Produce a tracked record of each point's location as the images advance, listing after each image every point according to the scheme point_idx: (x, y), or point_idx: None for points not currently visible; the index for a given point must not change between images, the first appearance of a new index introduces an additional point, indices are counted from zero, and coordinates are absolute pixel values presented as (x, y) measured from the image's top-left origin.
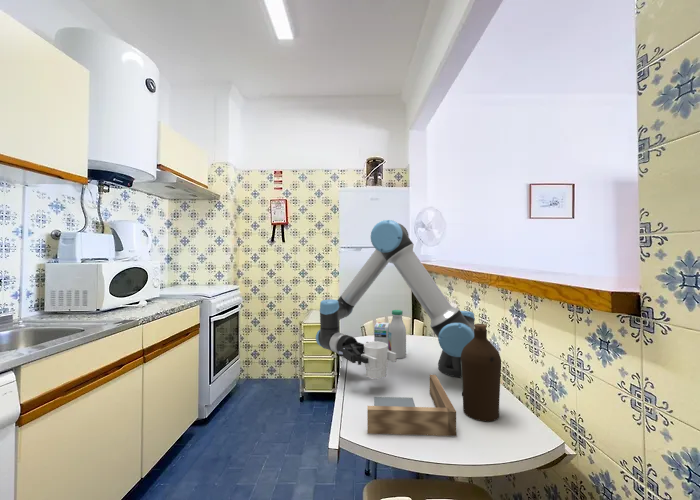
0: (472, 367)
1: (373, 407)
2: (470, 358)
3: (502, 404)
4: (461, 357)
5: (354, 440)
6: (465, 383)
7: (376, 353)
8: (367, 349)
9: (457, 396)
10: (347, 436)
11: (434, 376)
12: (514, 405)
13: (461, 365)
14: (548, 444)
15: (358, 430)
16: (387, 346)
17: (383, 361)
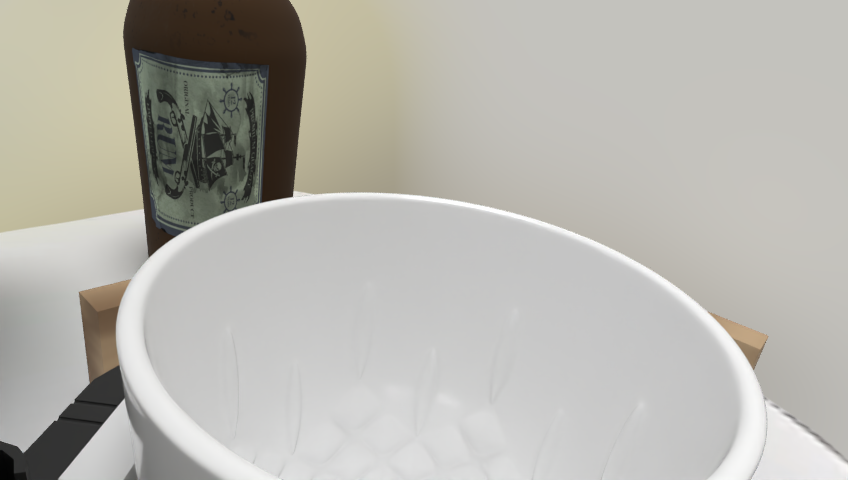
0: (304, 73)
1: (730, 329)
2: (302, 37)
3: (91, 242)
4: (267, 52)
5: (801, 434)
6: (282, 160)
7: (549, 304)
8: (691, 353)
9: (80, 334)
10: (836, 467)
11: (121, 289)
12: (81, 226)
13: (264, 93)
14: (293, 195)
15: (769, 465)
16: (321, 207)
17: (415, 384)
